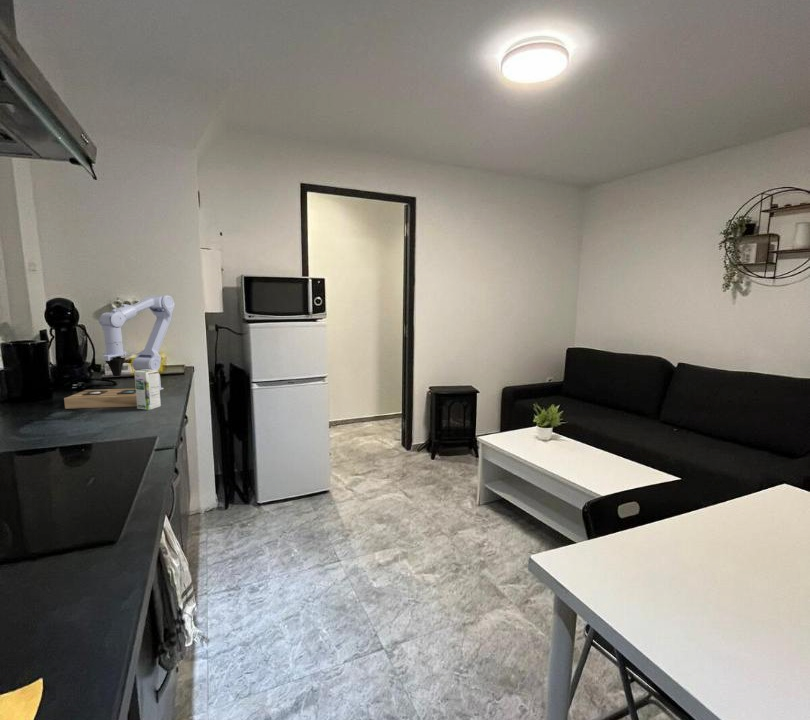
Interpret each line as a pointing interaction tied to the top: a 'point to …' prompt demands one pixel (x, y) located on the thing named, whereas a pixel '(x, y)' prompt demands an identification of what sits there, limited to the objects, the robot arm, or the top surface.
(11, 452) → the top surface
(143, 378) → the syrup box
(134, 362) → the robot arm
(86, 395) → the oak board
